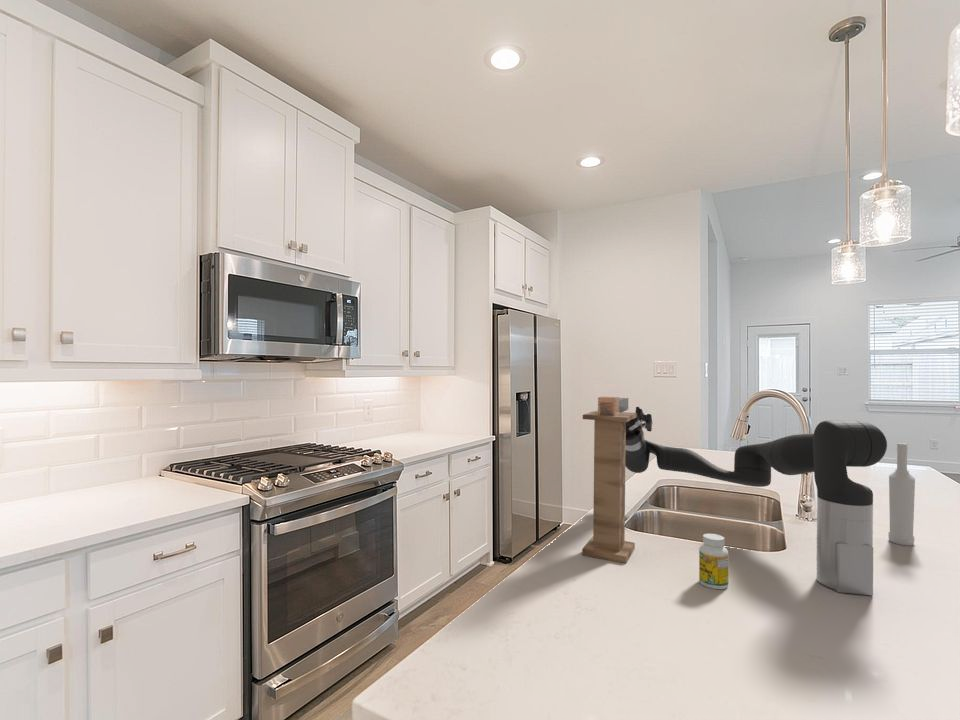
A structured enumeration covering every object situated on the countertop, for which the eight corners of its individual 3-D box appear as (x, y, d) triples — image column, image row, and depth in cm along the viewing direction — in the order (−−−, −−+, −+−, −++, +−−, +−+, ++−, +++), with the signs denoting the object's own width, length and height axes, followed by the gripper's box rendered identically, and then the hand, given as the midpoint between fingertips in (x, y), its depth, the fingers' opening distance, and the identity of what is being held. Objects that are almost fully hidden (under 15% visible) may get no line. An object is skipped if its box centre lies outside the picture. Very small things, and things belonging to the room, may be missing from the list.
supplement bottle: (734, 588, 101) (734, 539, 101) (712, 591, 99) (712, 542, 99) (714, 577, 106) (714, 531, 106) (693, 580, 104) (693, 533, 104)
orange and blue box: (614, 409, 133) (614, 393, 133) (630, 409, 131) (630, 394, 131) (597, 414, 117) (598, 397, 117) (615, 415, 115) (615, 398, 115)
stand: (594, 540, 127) (595, 410, 127) (635, 547, 122) (636, 412, 123) (581, 556, 116) (582, 414, 116) (625, 564, 112) (627, 417, 112)
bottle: (904, 539, 131) (905, 442, 131) (920, 546, 126) (921, 445, 126) (883, 538, 131) (884, 441, 132) (897, 545, 126) (898, 445, 126)
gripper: (654, 448, 140) (647, 424, 127) (602, 443, 146) (590, 419, 134) (656, 423, 143) (650, 397, 131) (606, 419, 150) (595, 394, 137)
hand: (620, 408), depth 132 cm, fingers open, 8 cm apart
